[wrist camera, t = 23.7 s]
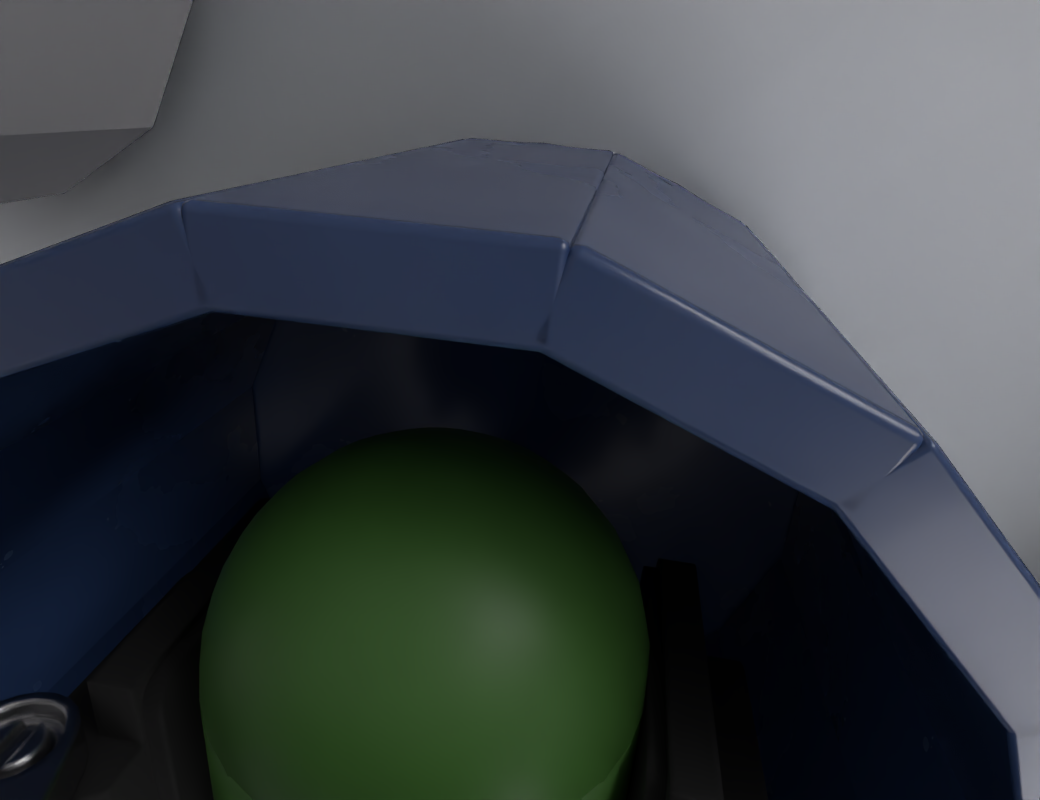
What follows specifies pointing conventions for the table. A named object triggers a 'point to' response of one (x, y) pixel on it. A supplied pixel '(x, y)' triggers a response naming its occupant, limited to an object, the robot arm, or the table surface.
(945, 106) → the table surface
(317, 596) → the squash
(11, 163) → the jar
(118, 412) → the pot
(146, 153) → the table surface
